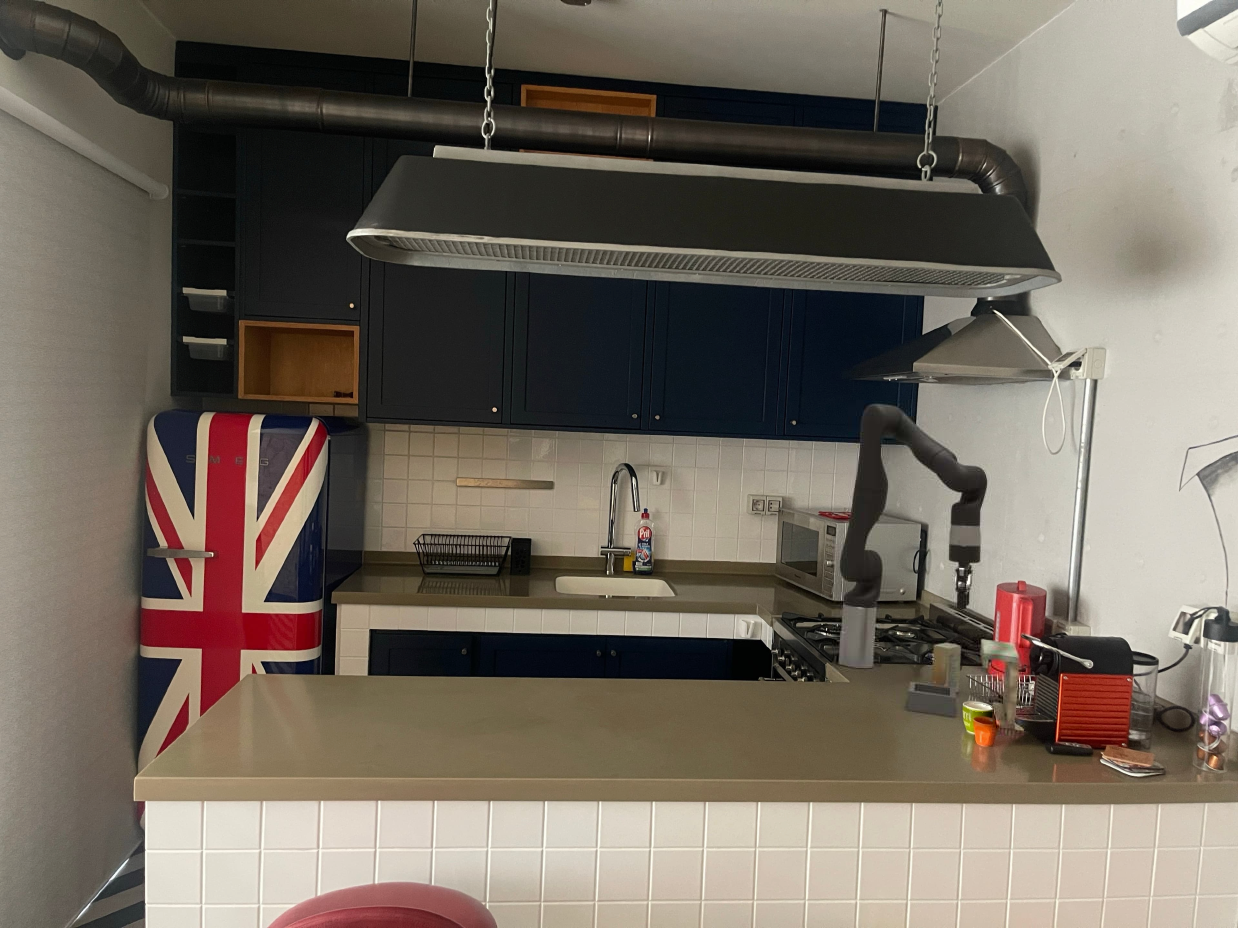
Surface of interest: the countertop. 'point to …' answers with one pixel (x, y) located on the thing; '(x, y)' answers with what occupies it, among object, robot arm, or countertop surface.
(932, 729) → the countertop surface
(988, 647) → the awning stand
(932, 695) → the socket
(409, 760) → the countertop surface
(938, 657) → the skincare box
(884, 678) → the countertop surface
